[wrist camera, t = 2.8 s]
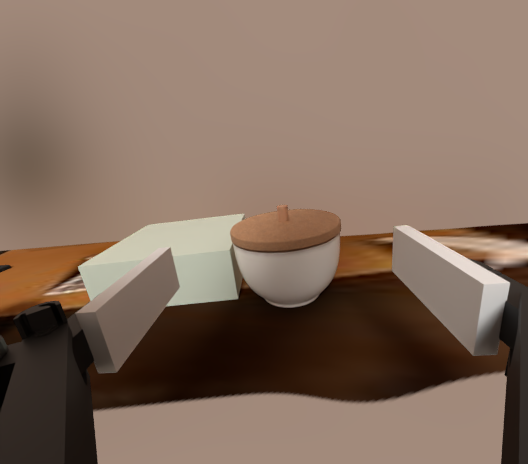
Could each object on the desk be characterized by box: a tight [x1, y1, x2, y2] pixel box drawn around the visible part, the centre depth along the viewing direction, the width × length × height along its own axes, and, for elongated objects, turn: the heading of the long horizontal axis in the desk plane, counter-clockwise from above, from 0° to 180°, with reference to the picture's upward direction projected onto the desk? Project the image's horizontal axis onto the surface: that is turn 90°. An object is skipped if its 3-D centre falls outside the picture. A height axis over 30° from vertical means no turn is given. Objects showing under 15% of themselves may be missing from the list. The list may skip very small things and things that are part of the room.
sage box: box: [78, 214, 245, 306], centre depth 34 cm, size 16×16×6 cm
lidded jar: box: [230, 205, 341, 308], centre depth 26 cm, size 11×11×9 cm
